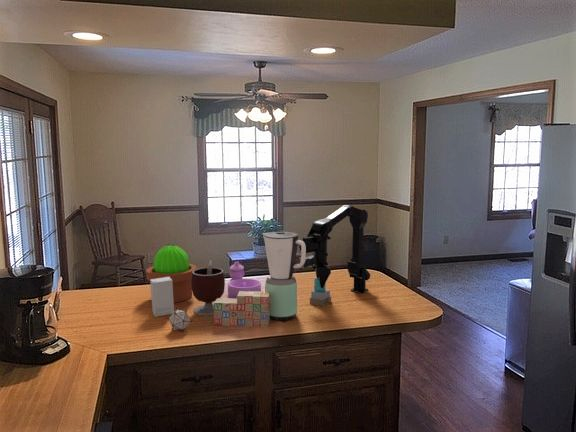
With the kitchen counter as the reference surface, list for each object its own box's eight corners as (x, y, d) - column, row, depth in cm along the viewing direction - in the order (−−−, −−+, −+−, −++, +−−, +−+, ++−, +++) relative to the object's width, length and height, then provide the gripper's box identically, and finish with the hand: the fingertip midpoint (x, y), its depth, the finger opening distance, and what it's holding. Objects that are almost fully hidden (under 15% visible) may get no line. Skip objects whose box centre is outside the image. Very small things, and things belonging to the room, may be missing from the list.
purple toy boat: (265, 299, 224) (265, 271, 222) (232, 303, 218) (231, 274, 216) (250, 284, 247) (249, 259, 245) (220, 287, 241) (219, 261, 240)
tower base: (317, 300, 224) (317, 293, 223) (331, 302, 220) (331, 296, 219) (309, 304, 218) (309, 297, 217) (323, 307, 214) (323, 300, 213)
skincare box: (171, 309, 209) (170, 276, 207) (174, 314, 204) (173, 279, 202) (151, 312, 206) (149, 278, 203) (154, 317, 200) (152, 282, 198)
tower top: (318, 294, 222) (318, 287, 222) (329, 296, 219) (329, 290, 218) (311, 297, 218) (311, 291, 217) (322, 300, 214) (322, 293, 214)
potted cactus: (181, 307, 213) (179, 250, 209) (138, 301, 220) (135, 247, 216) (205, 292, 233) (204, 240, 230) (165, 288, 240) (163, 238, 237)
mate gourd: (222, 316, 202) (221, 268, 199) (189, 316, 202) (187, 268, 199) (227, 304, 217) (227, 259, 214) (196, 303, 217) (195, 259, 214)
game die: (176, 338, 189) (169, 313, 192) (197, 329, 189) (190, 305, 193) (168, 334, 180) (161, 309, 184) (190, 326, 181) (182, 301, 184)
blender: (255, 318, 198) (254, 233, 193) (269, 308, 211) (269, 228, 205) (299, 325, 191) (299, 237, 186) (311, 314, 203) (311, 231, 198)
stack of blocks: (214, 325, 191) (213, 295, 190) (217, 320, 198) (216, 290, 196) (268, 327, 190) (268, 296, 188) (270, 321, 196) (270, 291, 194)
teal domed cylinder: (318, 288, 221) (317, 277, 220) (327, 290, 218) (327, 279, 217) (312, 291, 217) (312, 280, 216) (321, 293, 214) (321, 282, 213)
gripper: (300, 246, 224) (299, 279, 226) (304, 255, 205) (304, 291, 207) (324, 245, 225) (323, 279, 227) (331, 255, 206) (330, 290, 208)
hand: (320, 284), depth 217 cm, fingers open, 9 cm apart
